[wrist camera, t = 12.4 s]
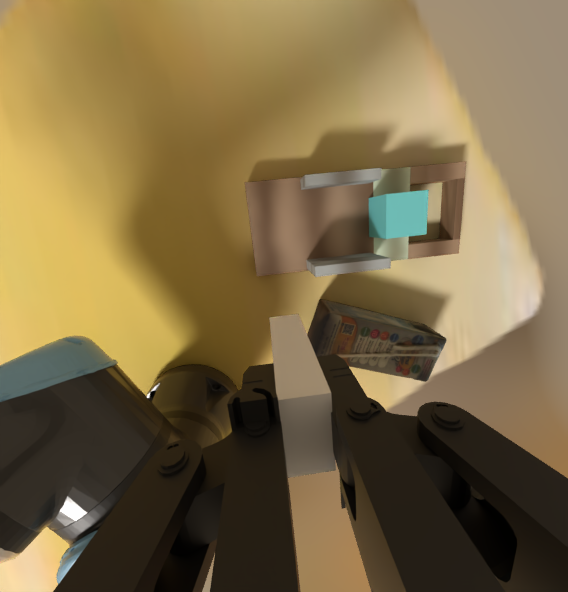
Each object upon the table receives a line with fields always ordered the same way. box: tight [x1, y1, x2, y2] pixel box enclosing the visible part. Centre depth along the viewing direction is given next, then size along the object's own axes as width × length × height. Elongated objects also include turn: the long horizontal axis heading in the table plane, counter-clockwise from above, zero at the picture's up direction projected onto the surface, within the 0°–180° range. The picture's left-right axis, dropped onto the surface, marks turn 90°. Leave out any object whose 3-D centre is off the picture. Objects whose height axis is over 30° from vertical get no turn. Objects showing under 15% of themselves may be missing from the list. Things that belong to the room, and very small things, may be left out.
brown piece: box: [245, 162, 466, 277], centre depth 34 cm, size 29×12×9 cm, turn 96°
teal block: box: [369, 190, 428, 239], centre depth 33 cm, size 5×5×5 cm
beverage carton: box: [307, 299, 446, 382], centre depth 41 cm, size 8×19×7 cm, turn 75°
